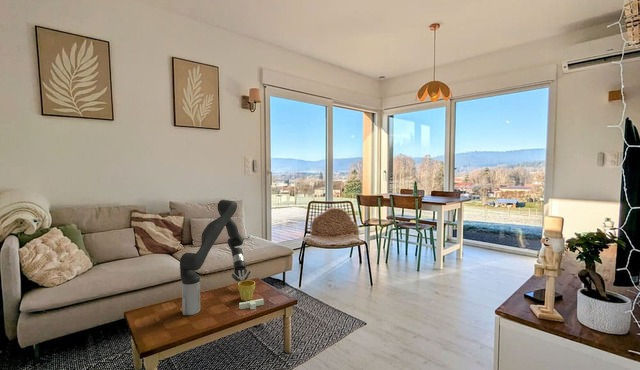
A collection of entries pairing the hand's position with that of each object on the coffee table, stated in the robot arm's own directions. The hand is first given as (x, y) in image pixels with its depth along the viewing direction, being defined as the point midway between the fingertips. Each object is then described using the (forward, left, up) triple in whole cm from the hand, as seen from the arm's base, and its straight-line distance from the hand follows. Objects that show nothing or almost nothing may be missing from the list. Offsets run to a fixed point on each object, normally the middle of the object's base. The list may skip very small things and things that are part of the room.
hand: (243, 286), depth 199 cm
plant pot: (0, -9, -5) cm, 10 cm away
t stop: (0, -22, -4) cm, 23 cm away
